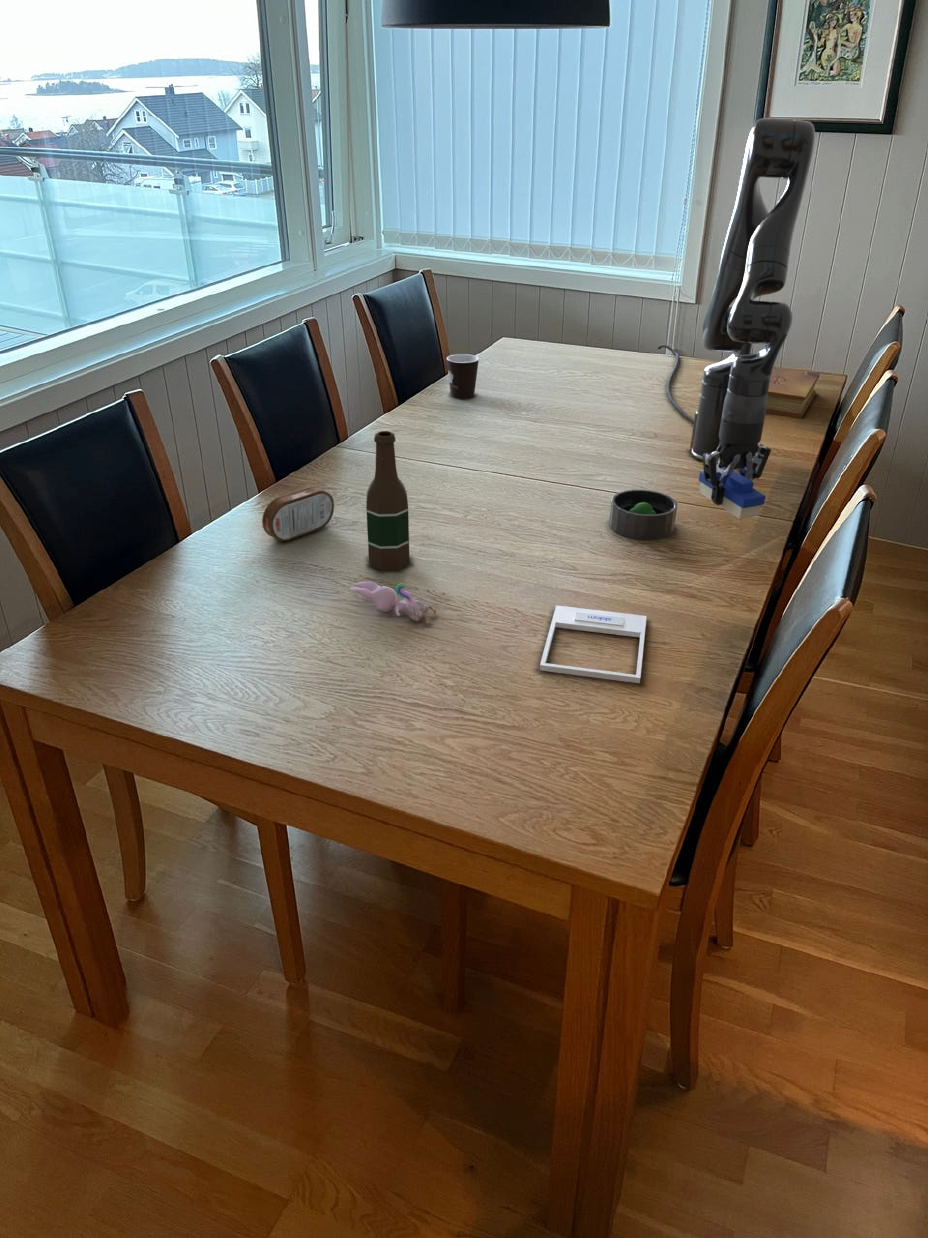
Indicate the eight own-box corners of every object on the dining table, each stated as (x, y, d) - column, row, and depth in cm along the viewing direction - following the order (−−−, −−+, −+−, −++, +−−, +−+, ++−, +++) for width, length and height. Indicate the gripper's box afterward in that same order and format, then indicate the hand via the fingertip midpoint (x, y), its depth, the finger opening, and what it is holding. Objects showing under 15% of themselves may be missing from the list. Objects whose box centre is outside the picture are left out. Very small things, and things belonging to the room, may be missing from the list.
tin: (328, 519, 180) (325, 479, 176) (338, 524, 178) (335, 484, 174) (263, 543, 171) (258, 501, 167) (273, 548, 169) (268, 506, 165)
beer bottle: (377, 575, 161) (371, 444, 148) (361, 557, 166) (354, 429, 154) (418, 566, 164) (415, 437, 151) (400, 548, 170) (396, 423, 157)
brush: (696, 492, 180) (701, 463, 177) (717, 488, 182) (721, 459, 179) (740, 520, 169) (745, 490, 166) (761, 516, 171) (767, 486, 168)
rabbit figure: (439, 619, 151) (360, 587, 155) (444, 589, 147) (363, 557, 151) (421, 637, 146) (340, 603, 150) (426, 606, 142) (344, 573, 146)
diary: (747, 384, 261) (750, 364, 258) (815, 393, 254) (819, 373, 251) (728, 406, 243) (732, 385, 240) (801, 417, 236) (805, 395, 233)
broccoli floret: (622, 526, 178) (625, 503, 175) (641, 518, 181) (644, 495, 179) (644, 535, 174) (647, 512, 172) (663, 527, 178) (666, 504, 175)
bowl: (597, 520, 181) (599, 494, 178) (651, 511, 185) (654, 485, 182) (630, 546, 171) (633, 519, 168) (686, 536, 175) (690, 509, 172)
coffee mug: (478, 400, 246) (478, 362, 241) (446, 399, 246) (446, 362, 241) (478, 387, 256) (478, 351, 251) (447, 386, 256) (447, 350, 251)
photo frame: (646, 615, 147) (640, 677, 132) (645, 620, 148) (639, 683, 133) (556, 604, 150) (540, 663, 135) (555, 610, 150) (539, 670, 135)
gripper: (762, 404, 172) (747, 488, 181) (698, 413, 167) (685, 499, 176) (789, 416, 166) (771, 503, 175) (722, 426, 161) (708, 514, 170)
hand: (728, 501), depth 175 cm, fingers closed on brush, 4 cm apart
